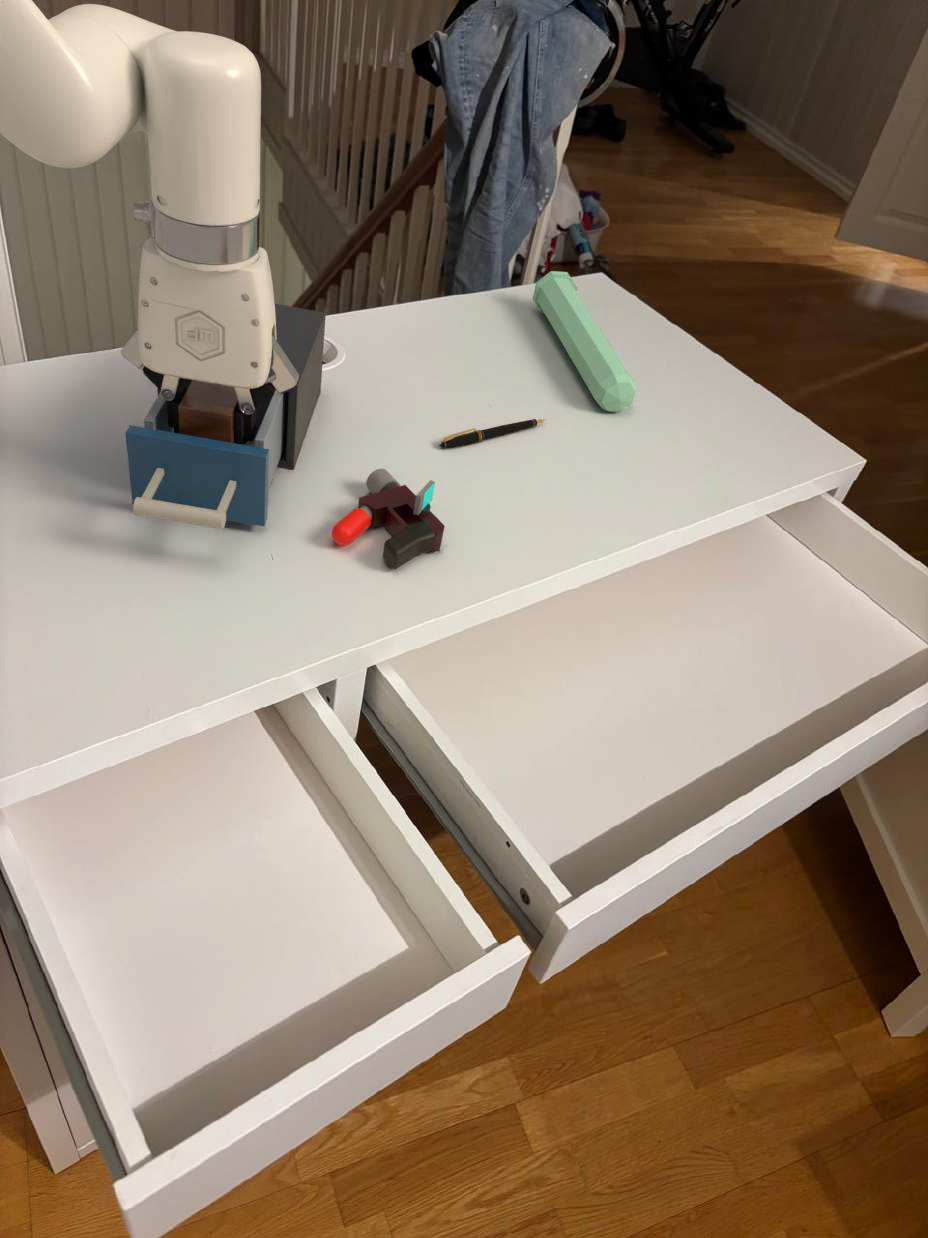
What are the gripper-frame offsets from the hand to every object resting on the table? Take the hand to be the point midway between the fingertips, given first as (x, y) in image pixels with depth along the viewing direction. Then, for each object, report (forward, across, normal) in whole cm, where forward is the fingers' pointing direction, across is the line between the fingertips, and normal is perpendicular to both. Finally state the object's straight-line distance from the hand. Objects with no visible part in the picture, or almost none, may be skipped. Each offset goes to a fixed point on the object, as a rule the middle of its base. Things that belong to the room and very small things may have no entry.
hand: (212, 437), depth 82 cm
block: (0, 0, 0) cm, 0 cm away
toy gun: (+6, +15, -2) cm, 16 cm away
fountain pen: (+6, +25, +17) cm, 31 cm away
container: (+6, +35, +38) cm, 52 cm away
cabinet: (+6, 0, +12) cm, 14 cm away
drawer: (+5, 0, -1) cm, 5 cm away
